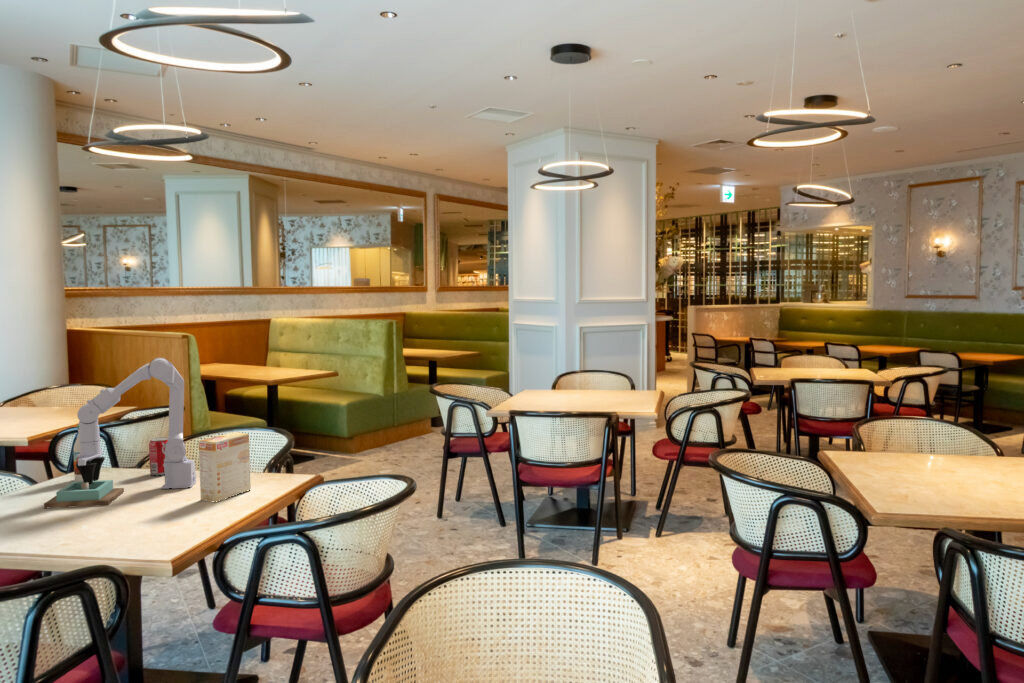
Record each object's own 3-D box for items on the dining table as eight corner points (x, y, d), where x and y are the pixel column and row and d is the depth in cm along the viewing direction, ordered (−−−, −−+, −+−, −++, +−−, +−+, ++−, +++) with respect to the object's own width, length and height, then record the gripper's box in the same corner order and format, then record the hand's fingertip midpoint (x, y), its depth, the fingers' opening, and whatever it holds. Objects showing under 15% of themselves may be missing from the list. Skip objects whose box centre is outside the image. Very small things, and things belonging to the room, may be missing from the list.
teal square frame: (113, 488, 231) (112, 479, 231) (99, 499, 219) (98, 490, 219) (73, 490, 229) (72, 481, 228) (56, 501, 217) (56, 492, 217)
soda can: (165, 476, 252) (164, 440, 251) (146, 476, 252) (144, 440, 251) (175, 471, 259) (174, 436, 258) (156, 471, 259) (155, 436, 258)
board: (123, 492, 232) (123, 476, 232) (108, 505, 219) (107, 487, 218) (64, 495, 229) (63, 478, 228) (44, 508, 215) (43, 490, 215)
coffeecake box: (235, 488, 237) (234, 431, 236) (251, 490, 234) (250, 433, 233) (199, 500, 224) (197, 440, 222) (215, 503, 221) (213, 442, 219)
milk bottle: (71, 480, 247) (69, 424, 246) (96, 475, 253) (93, 421, 251) (78, 484, 242) (75, 427, 241) (103, 479, 248) (100, 423, 246)
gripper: (85, 436, 234) (87, 476, 235) (66, 446, 220) (68, 488, 221) (108, 436, 235) (110, 475, 236) (91, 445, 221) (93, 487, 222)
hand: (91, 482), depth 229 cm, fingers open, 4 cm apart
